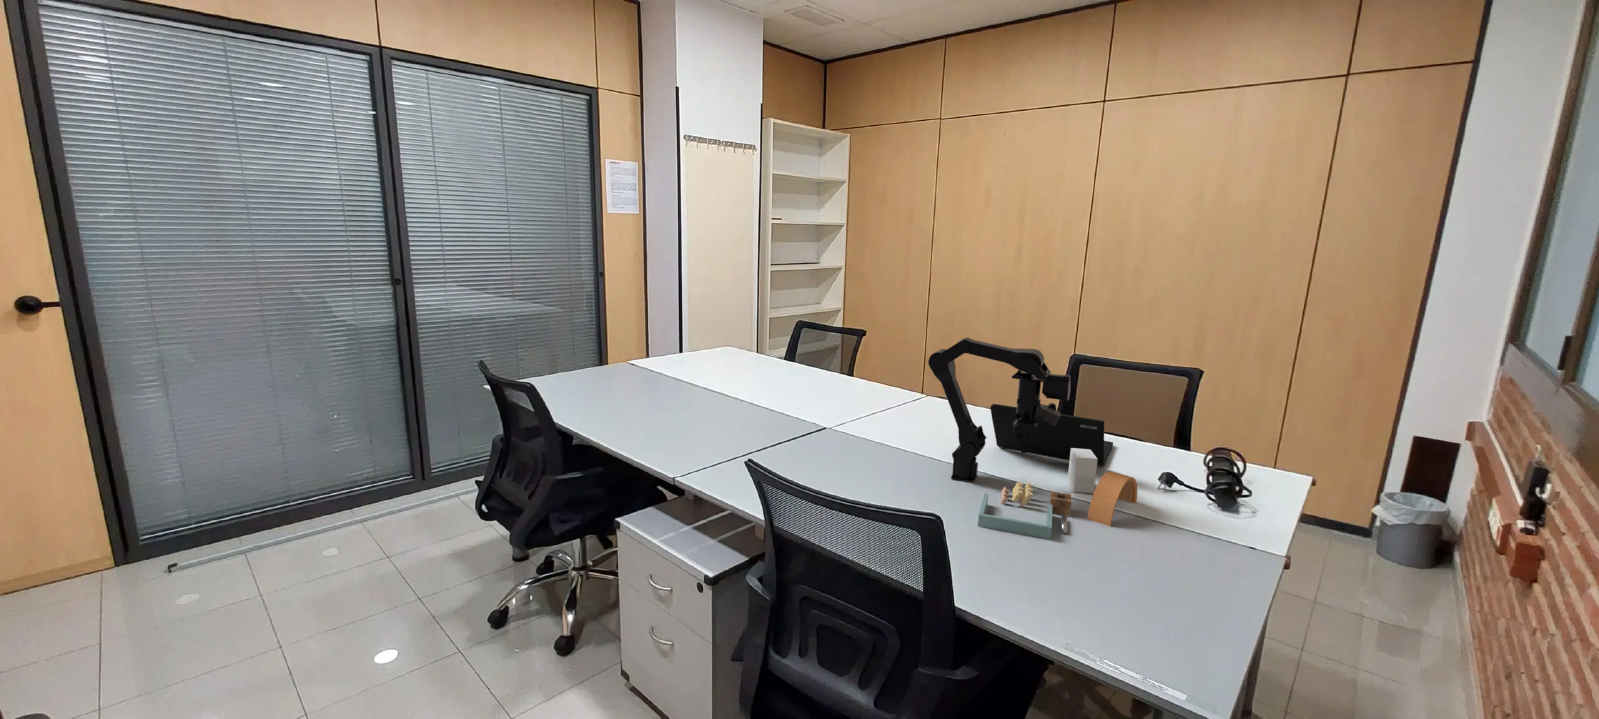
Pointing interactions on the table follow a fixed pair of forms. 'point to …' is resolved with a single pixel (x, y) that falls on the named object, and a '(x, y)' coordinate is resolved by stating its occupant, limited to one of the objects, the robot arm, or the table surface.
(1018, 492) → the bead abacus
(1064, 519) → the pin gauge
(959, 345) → the robot arm
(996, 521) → the tray
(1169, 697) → the table surface
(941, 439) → the table surface
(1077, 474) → the small box
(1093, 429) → the laptop
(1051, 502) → the bored block
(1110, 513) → the arch
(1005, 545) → the table surface
